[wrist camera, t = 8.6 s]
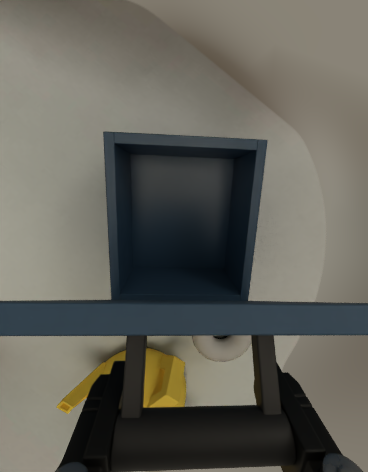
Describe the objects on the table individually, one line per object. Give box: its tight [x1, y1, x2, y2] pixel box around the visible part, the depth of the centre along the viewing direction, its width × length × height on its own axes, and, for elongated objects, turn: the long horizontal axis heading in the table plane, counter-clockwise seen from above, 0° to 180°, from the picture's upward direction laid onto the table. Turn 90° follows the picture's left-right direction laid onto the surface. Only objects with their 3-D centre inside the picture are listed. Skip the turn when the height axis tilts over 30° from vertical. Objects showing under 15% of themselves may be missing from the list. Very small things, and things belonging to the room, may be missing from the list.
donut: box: [192, 335, 252, 362], centre depth 35 cm, size 10×4×10 cm
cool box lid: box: [0, 300, 368, 472], centre depth 15 cm, size 19×16×5 cm
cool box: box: [103, 132, 267, 301], centre depth 27 cm, size 18×16×9 cm
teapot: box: [57, 348, 186, 414], centre depth 32 cm, size 17×17×12 cm
